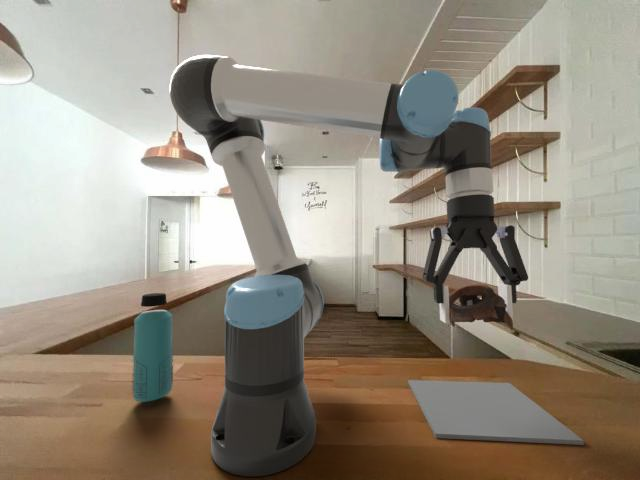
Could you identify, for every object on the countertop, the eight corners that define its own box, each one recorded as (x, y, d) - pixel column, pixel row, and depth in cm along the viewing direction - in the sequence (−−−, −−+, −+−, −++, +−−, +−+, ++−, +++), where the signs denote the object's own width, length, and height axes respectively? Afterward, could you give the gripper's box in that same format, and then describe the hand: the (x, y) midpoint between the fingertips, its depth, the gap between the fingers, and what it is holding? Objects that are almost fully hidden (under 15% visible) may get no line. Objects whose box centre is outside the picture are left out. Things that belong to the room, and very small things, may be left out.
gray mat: (435, 437, 39) (435, 433, 39) (408, 383, 56) (408, 380, 56) (583, 444, 38) (583, 440, 38) (509, 386, 54) (509, 383, 54)
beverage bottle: (177, 400, 50) (179, 292, 52) (136, 416, 46) (139, 297, 47) (166, 389, 55) (168, 290, 56) (126, 402, 50) (129, 293, 51)
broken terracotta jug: (532, 338, 42) (513, 293, 41) (474, 361, 43) (453, 319, 42) (489, 304, 54) (473, 269, 52) (444, 323, 55) (427, 289, 54)
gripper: (520, 199, 52) (528, 317, 50) (402, 203, 54) (406, 316, 52) (550, 189, 44) (559, 327, 43) (411, 195, 46) (416, 327, 45)
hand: (475, 321), depth 48 cm, fingers closed on broken terracotta jug, 10 cm apart
